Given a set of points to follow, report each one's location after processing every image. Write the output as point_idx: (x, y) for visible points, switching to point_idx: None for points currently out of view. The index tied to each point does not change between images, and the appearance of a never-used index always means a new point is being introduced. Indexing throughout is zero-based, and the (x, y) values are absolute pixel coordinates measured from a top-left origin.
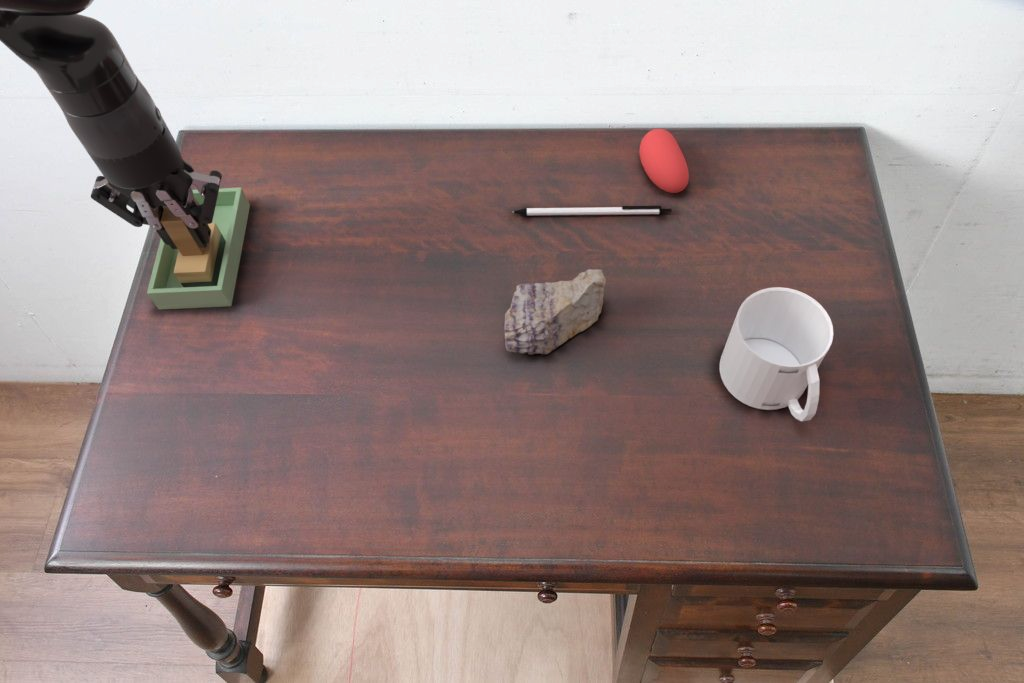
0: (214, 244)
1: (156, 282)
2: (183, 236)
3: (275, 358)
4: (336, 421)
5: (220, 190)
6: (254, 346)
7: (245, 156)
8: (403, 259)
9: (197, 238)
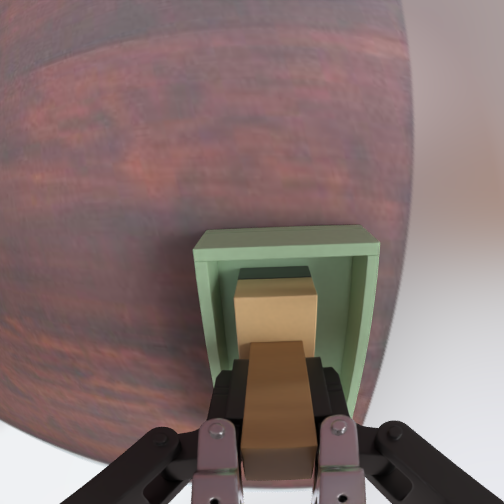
0: None
1: (363, 275)
2: (270, 393)
3: (98, 115)
4: (19, 41)
5: None
6: (138, 135)
7: None
8: (3, 307)
9: (235, 385)
